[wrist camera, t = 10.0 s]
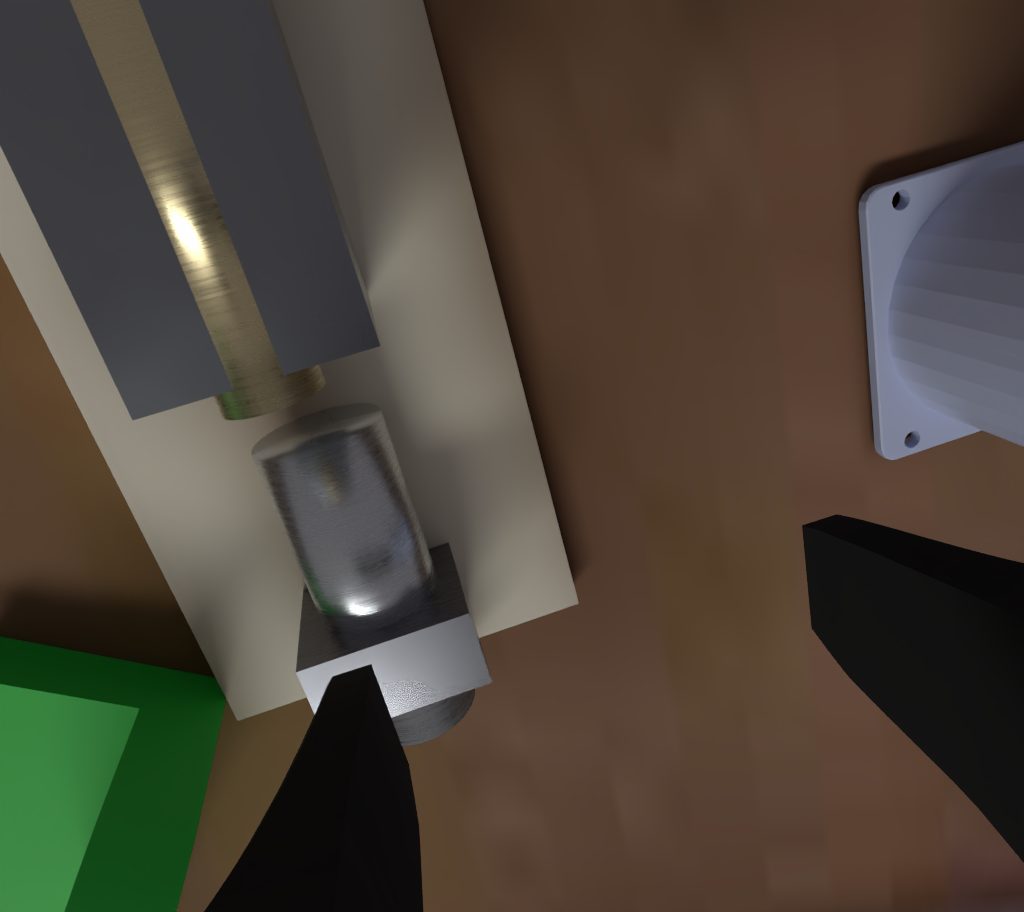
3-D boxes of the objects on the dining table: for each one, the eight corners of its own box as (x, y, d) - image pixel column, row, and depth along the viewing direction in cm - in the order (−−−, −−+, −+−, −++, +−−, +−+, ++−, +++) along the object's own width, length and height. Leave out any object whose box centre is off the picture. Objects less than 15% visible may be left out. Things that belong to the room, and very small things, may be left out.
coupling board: (187, -882, 12) (177, -952, 11) (571, 589, 23) (578, 603, 22) (-505, -795, 11) (-567, -867, 10) (240, 702, 22) (237, 720, 21)
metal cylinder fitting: (237, 436, 18) (214, 493, 15) (398, 386, 19) (410, 432, 15) (346, 692, 21) (347, 787, 18) (482, 646, 22) (507, 730, 18)
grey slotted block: (226, -141, 14) (154, -340, 9) (374, 313, 18) (390, 376, 12) (13, -92, 14) (-204, -270, 8) (207, 363, 18) (145, 451, 12)
